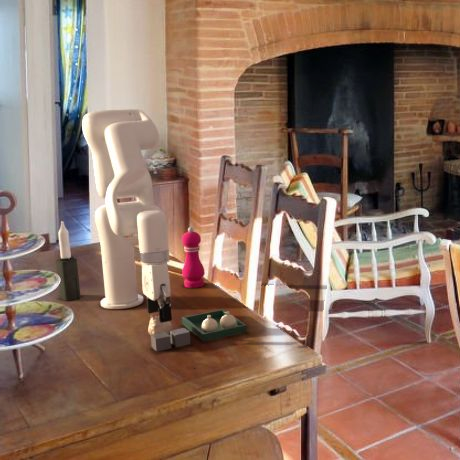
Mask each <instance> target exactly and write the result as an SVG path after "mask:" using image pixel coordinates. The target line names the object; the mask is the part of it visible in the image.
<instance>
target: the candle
mask: <svg viewBox="0 0 460 460" xmlns="http://www.w3.org/2000/svg"><path fill="white" fill-rule="evenodd" d="M57 235H58V244H59V250H60V251H59V252H60V254H59V255H60V256H58V257H57V258H56V259H55V267H56V275H57V274H58V275H59V276H60V278H61V282H60V284H59V286H58V285H57V286H58V287H57V288H58V295H59V296H58V297H59V299H60V300H63V301H66V302H69V301H72V300H75V299H80V298H81V286H80V276H79V268H78V259H77V258H76V257H75V255H72V254H71V244H70V233H69V230H68V229H67V228H66V225H65V221H63V220H61V222H60V227H59V230H58V233H57Z"/></svg>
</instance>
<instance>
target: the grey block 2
mask: <svg viewBox="0 0 460 460" xmlns="http://www.w3.org/2000/svg"><path fill="white" fill-rule="evenodd" d="M169 335H170V336H171V345H172V346H174V347H175V348H178V347H183V346H187V345H191V331H190V330H189V329H188V328H186V327H181V328H177V329H171V331H170V333H169Z"/></svg>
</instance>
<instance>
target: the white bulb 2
mask: <svg viewBox="0 0 460 460" xmlns="http://www.w3.org/2000/svg"><path fill="white" fill-rule="evenodd" d="M226 311H227V310H226ZM229 313H230V311H227V312H226V315H224V316H223V317H222V318H221V320H220V325H221V327H222V328H223V329H226V328H231V327H235V325H236V319H235V317H236V316H234V315H233V316H232V314H231V313H230V314H231V315H230V314H229Z"/></svg>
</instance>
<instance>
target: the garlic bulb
mask: <svg viewBox="0 0 460 460" xmlns="http://www.w3.org/2000/svg"><path fill="white" fill-rule="evenodd" d="M149 318H150V320H149V324H148V328H147V332H148V334H149V335H150V336H151V335H152V334H157V333H162V332H166V333H168V334H169V335H170V331H171V330H173V324H172V321H168V322H163V323H161V322H160V321H159V315H158V316H157V315H155V314H154V313H151V315H150V316H149Z"/></svg>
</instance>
